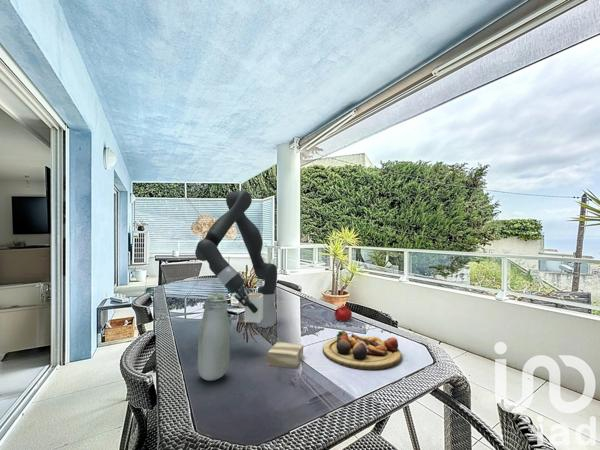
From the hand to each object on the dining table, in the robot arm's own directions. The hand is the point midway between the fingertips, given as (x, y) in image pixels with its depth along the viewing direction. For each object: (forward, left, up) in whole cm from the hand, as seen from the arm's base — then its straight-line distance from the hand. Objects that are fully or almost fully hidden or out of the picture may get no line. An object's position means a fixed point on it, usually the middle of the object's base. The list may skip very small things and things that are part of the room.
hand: (258, 309), depth 118 cm
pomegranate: (-67, -2, -18) cm, 70 cm away
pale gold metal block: (-4, +12, -18) cm, 23 cm away
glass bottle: (+23, +4, -18) cm, 30 cm away
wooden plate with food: (-31, +30, -19) cm, 47 cm away
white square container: (+1, -1, -4) cm, 5 cm away
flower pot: (+1, -26, -18) cm, 32 cm away
